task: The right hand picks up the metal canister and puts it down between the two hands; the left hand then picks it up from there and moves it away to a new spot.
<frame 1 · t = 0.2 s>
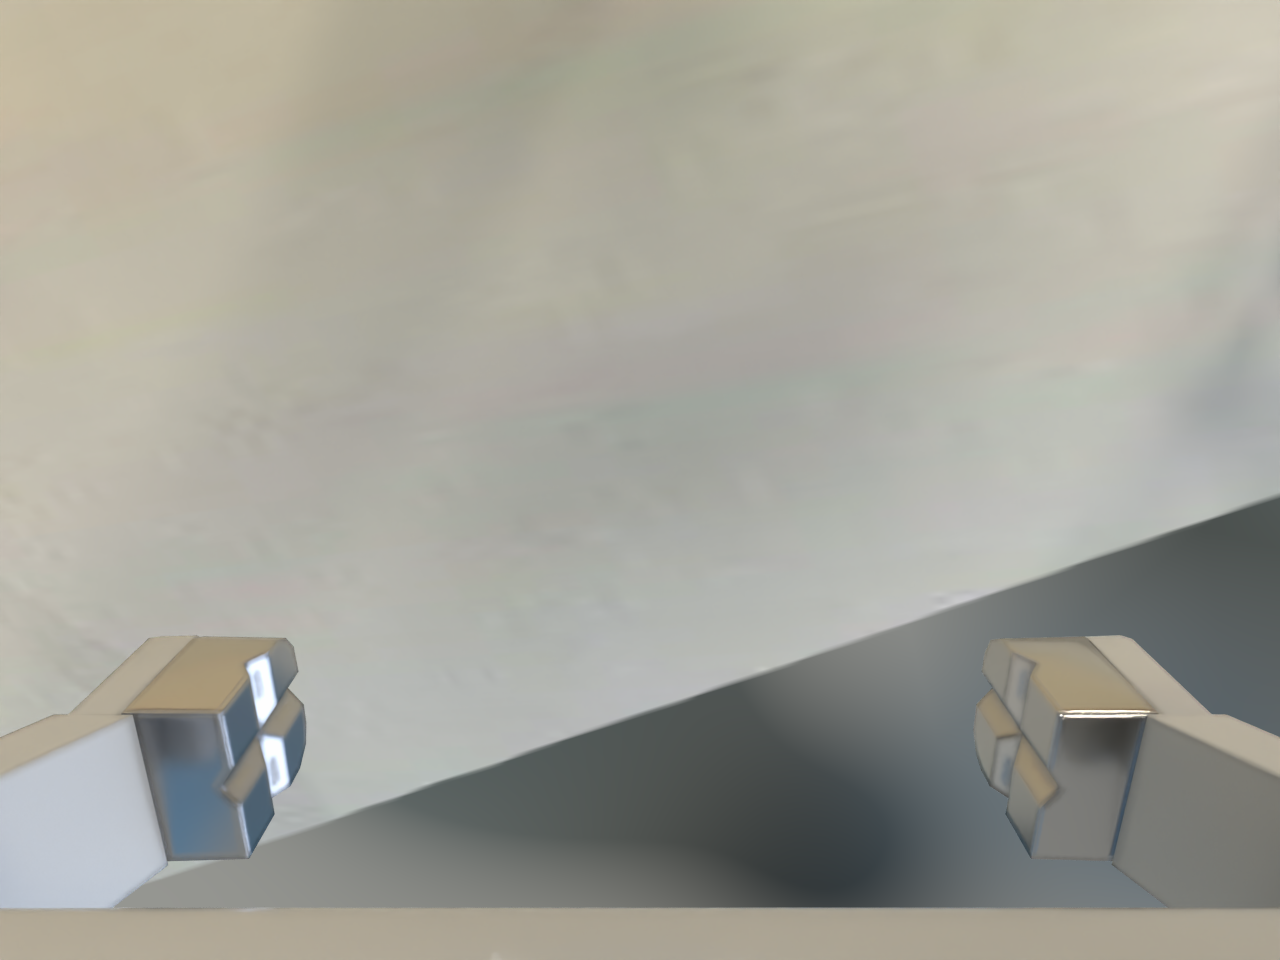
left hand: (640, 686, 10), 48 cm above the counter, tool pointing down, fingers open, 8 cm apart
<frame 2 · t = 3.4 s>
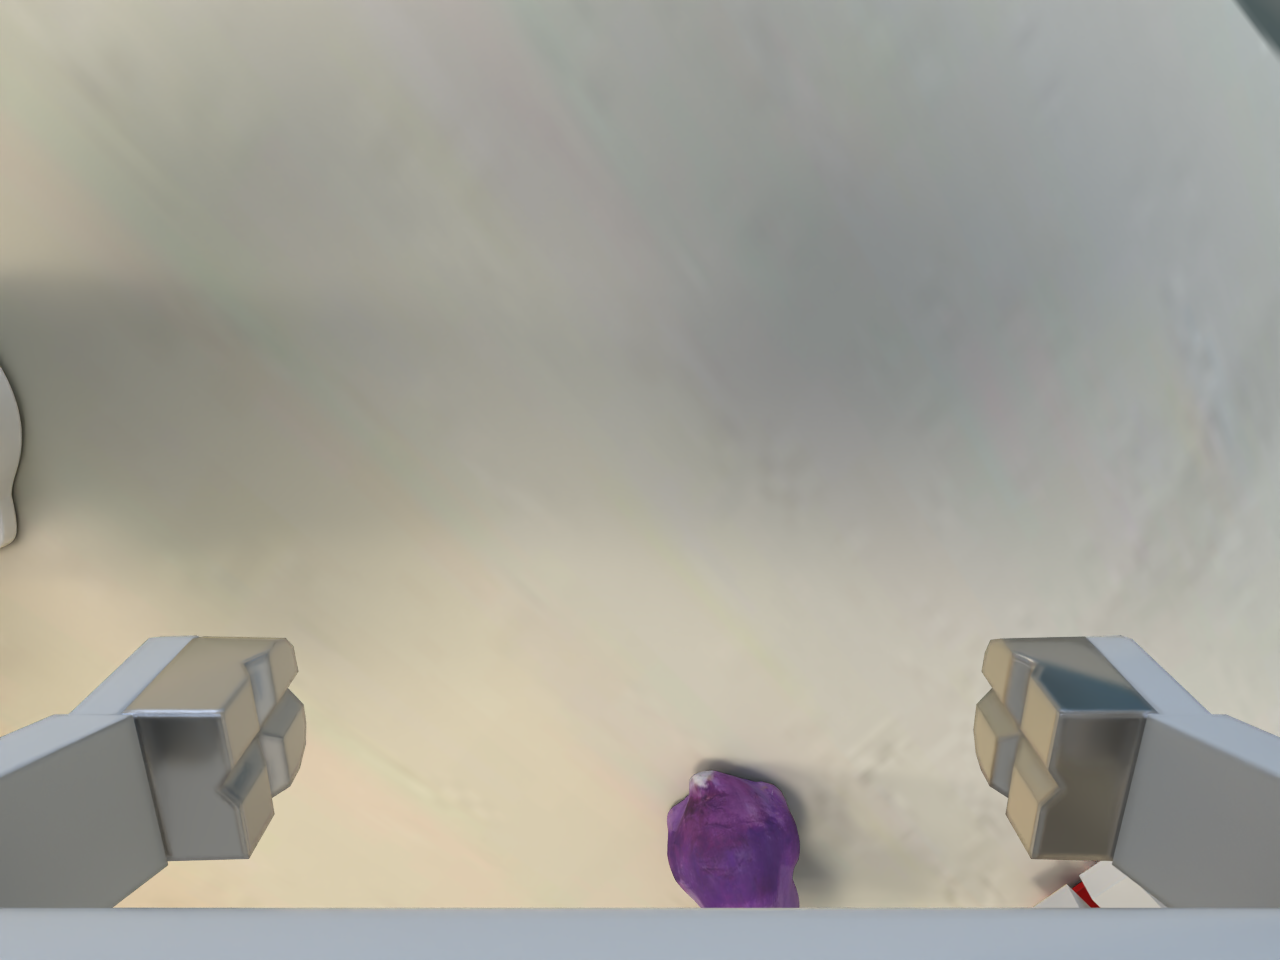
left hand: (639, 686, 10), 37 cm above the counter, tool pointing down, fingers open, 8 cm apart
figurine: (740, 823, 57), on the counter
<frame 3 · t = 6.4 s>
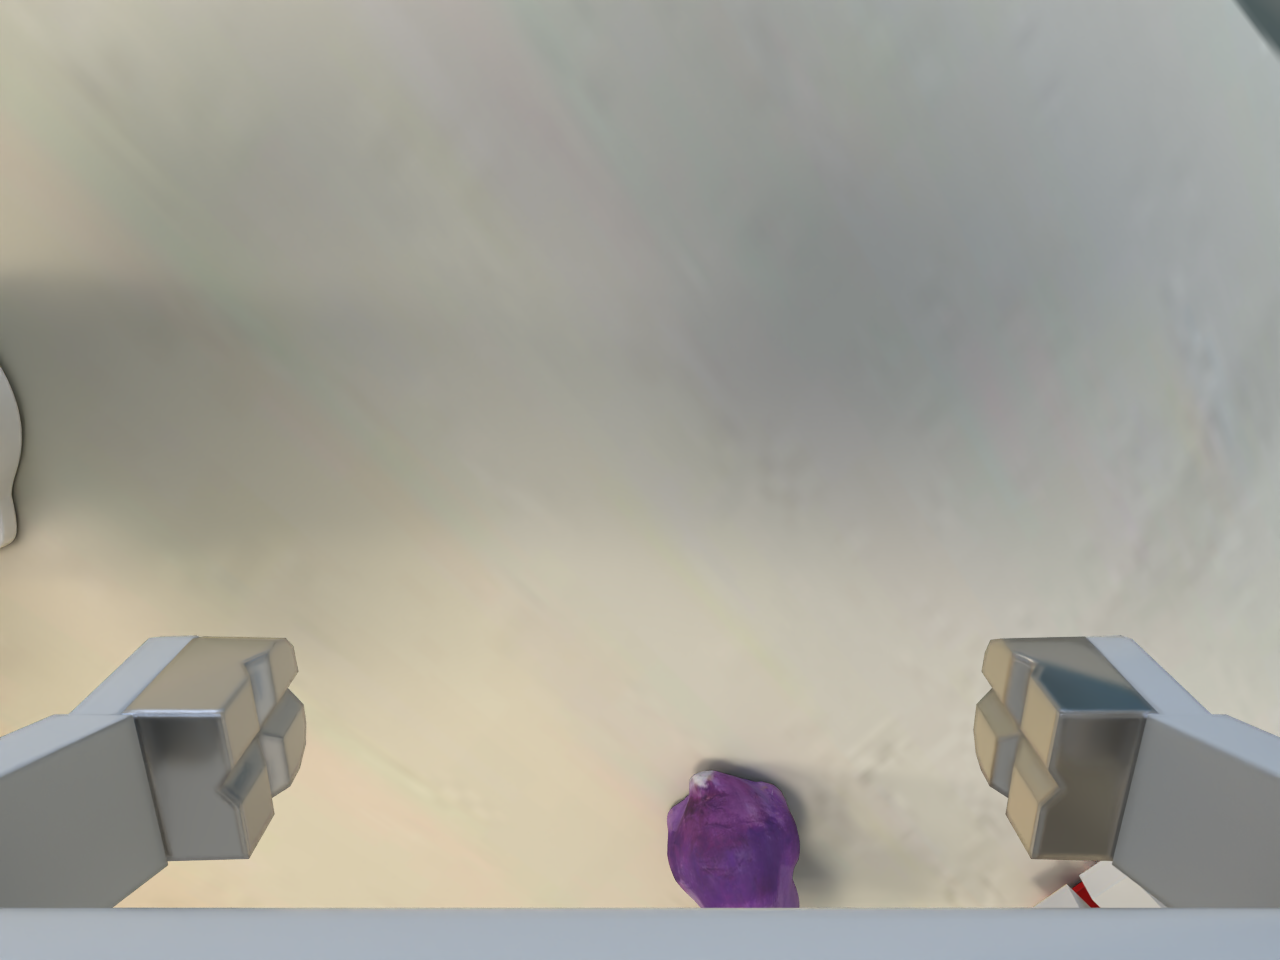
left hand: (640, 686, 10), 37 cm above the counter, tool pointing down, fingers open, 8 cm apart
figurine: (740, 823, 57), on the counter
when the right hand's fingers open (2 cm above the counter, at t = 9.7 s): canister stays where it is, on the counter.
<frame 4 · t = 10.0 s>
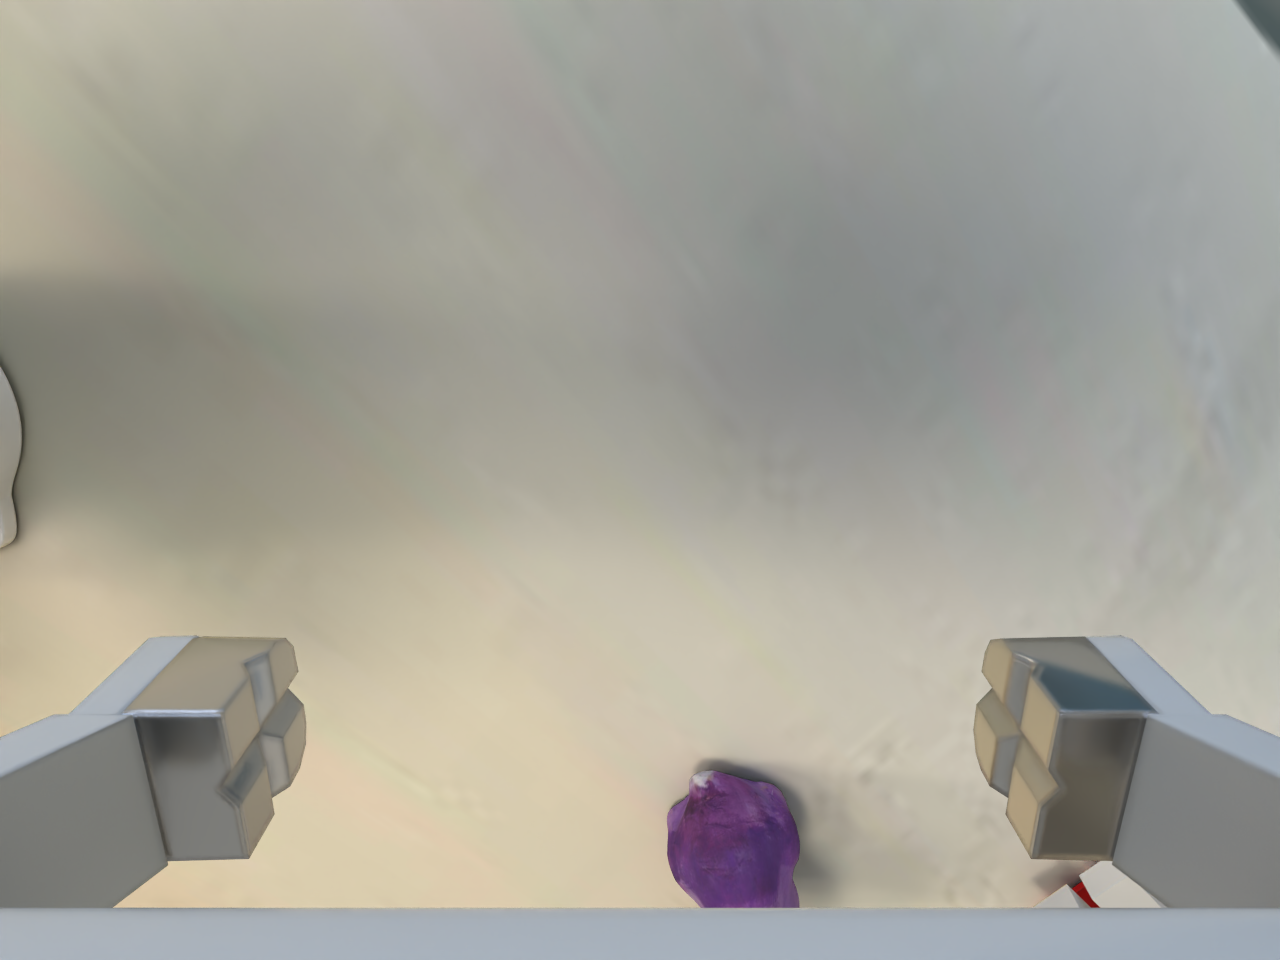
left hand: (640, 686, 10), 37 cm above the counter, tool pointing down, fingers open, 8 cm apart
figurine: (740, 823, 57), on the counter
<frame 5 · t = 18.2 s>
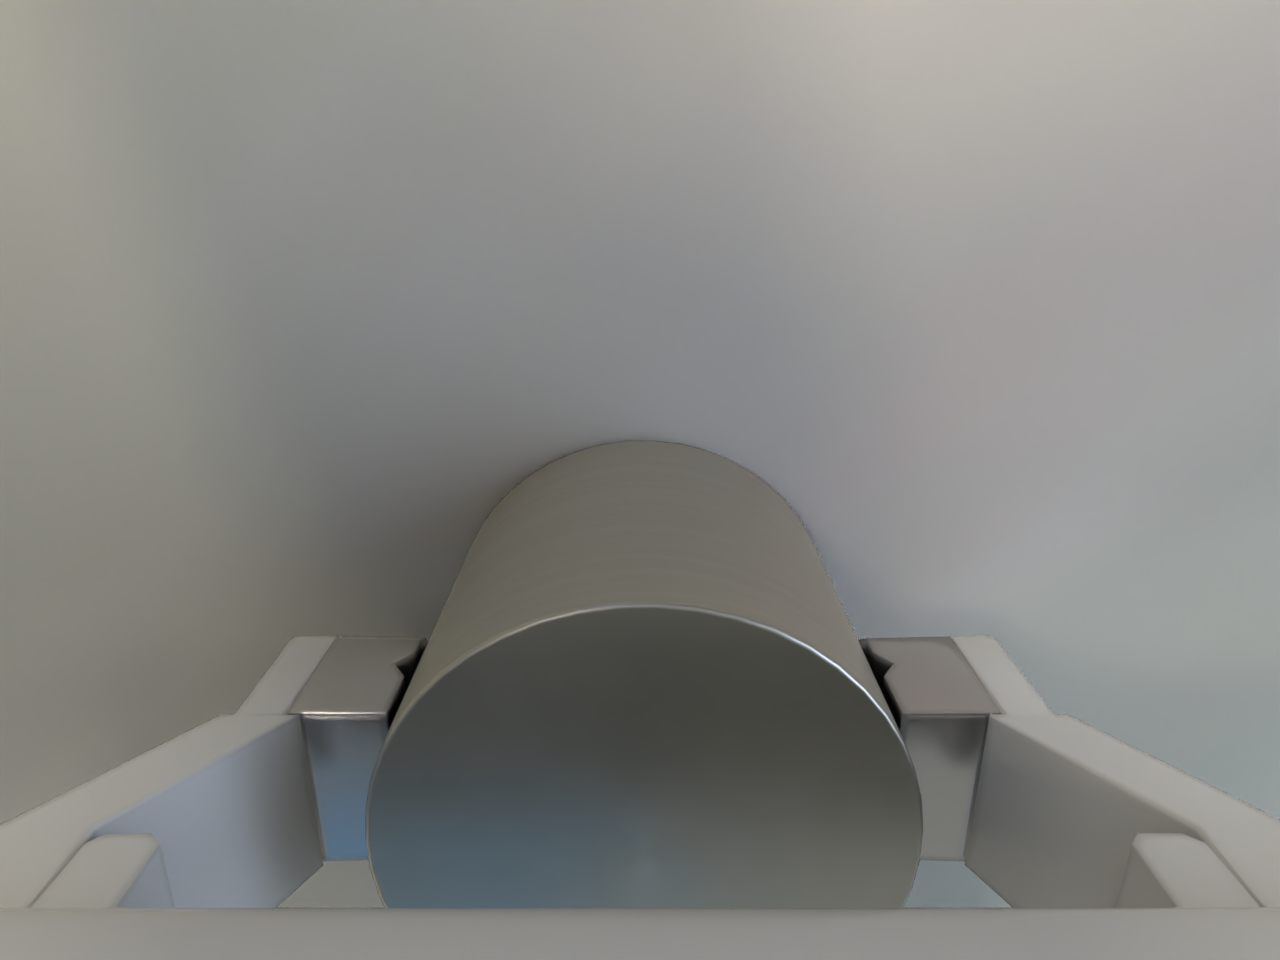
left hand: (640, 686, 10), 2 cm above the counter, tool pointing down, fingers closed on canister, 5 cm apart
canister: (642, 613, 12), on the counter, touching left hand
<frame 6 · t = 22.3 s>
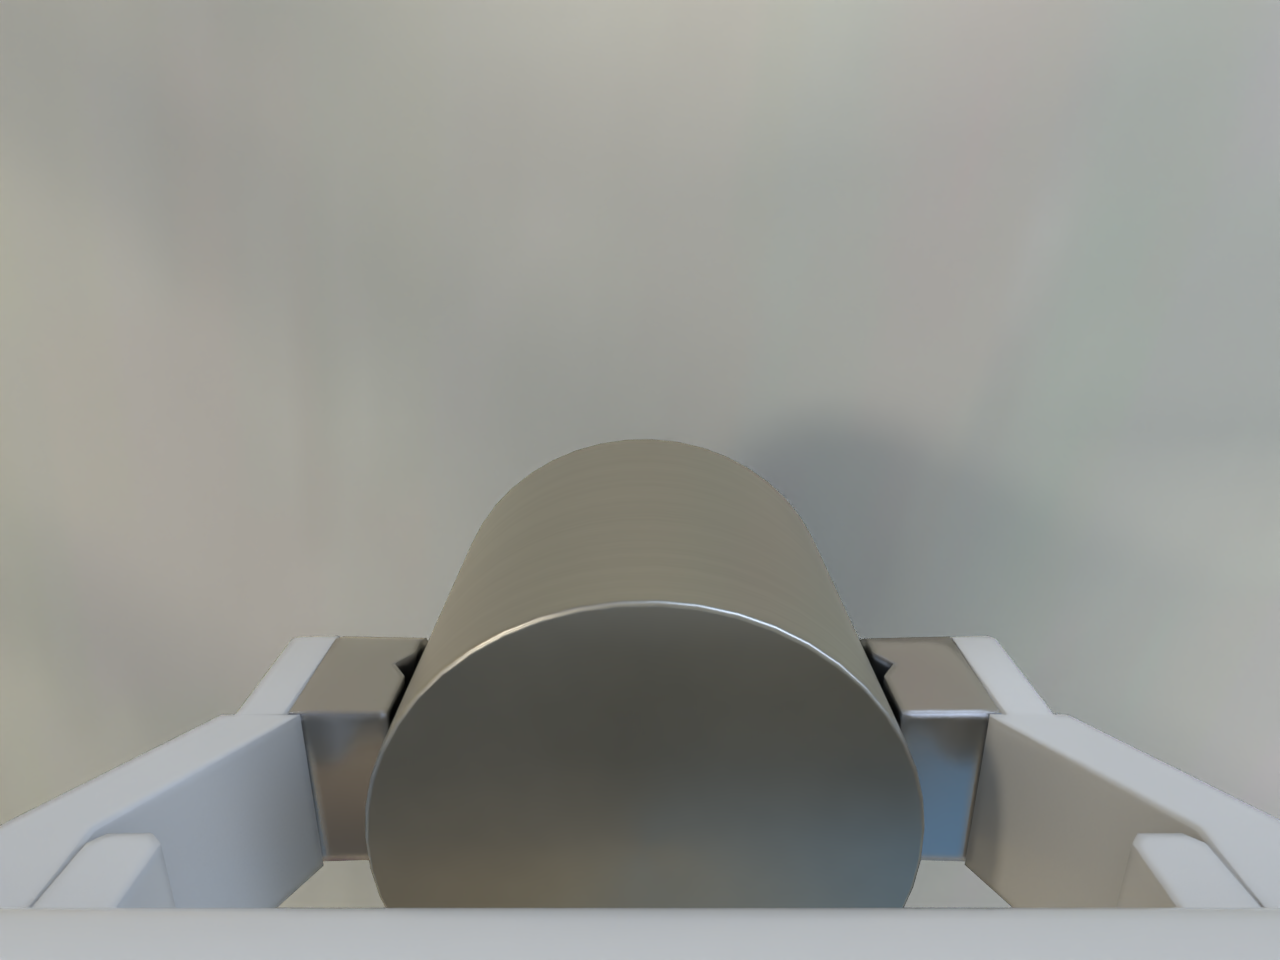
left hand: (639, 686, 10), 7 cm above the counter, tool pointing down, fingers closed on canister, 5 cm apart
canister: (643, 612, 12), point 6 cm above the counter, touching left hand
when the left hand's fingers open (3 cm above the counter, at t = 26.6 s): canister stays where it is, on the counter.
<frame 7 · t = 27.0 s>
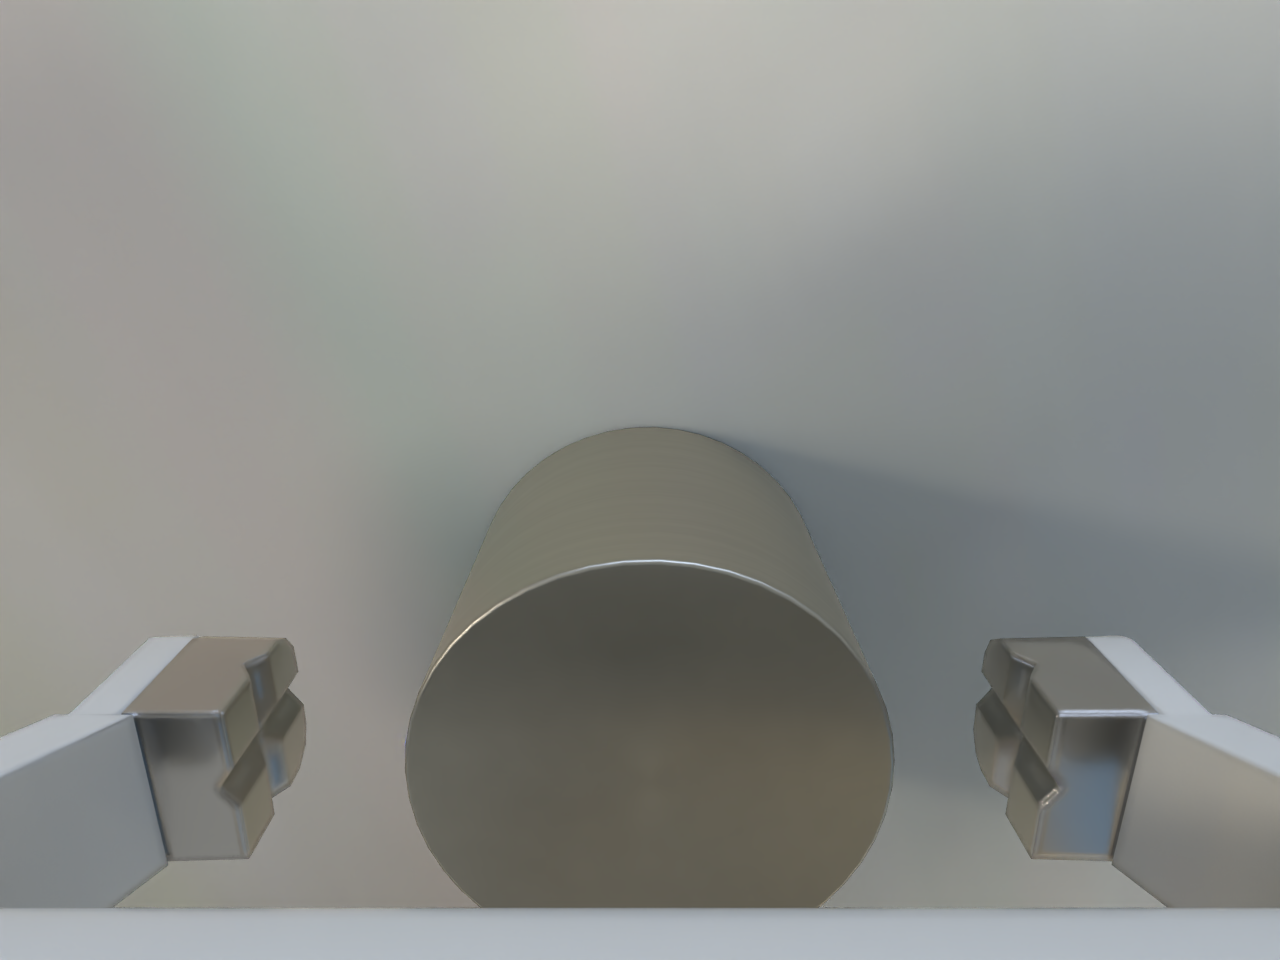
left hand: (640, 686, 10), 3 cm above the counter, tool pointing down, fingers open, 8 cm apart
canister: (647, 586, 13), on the counter
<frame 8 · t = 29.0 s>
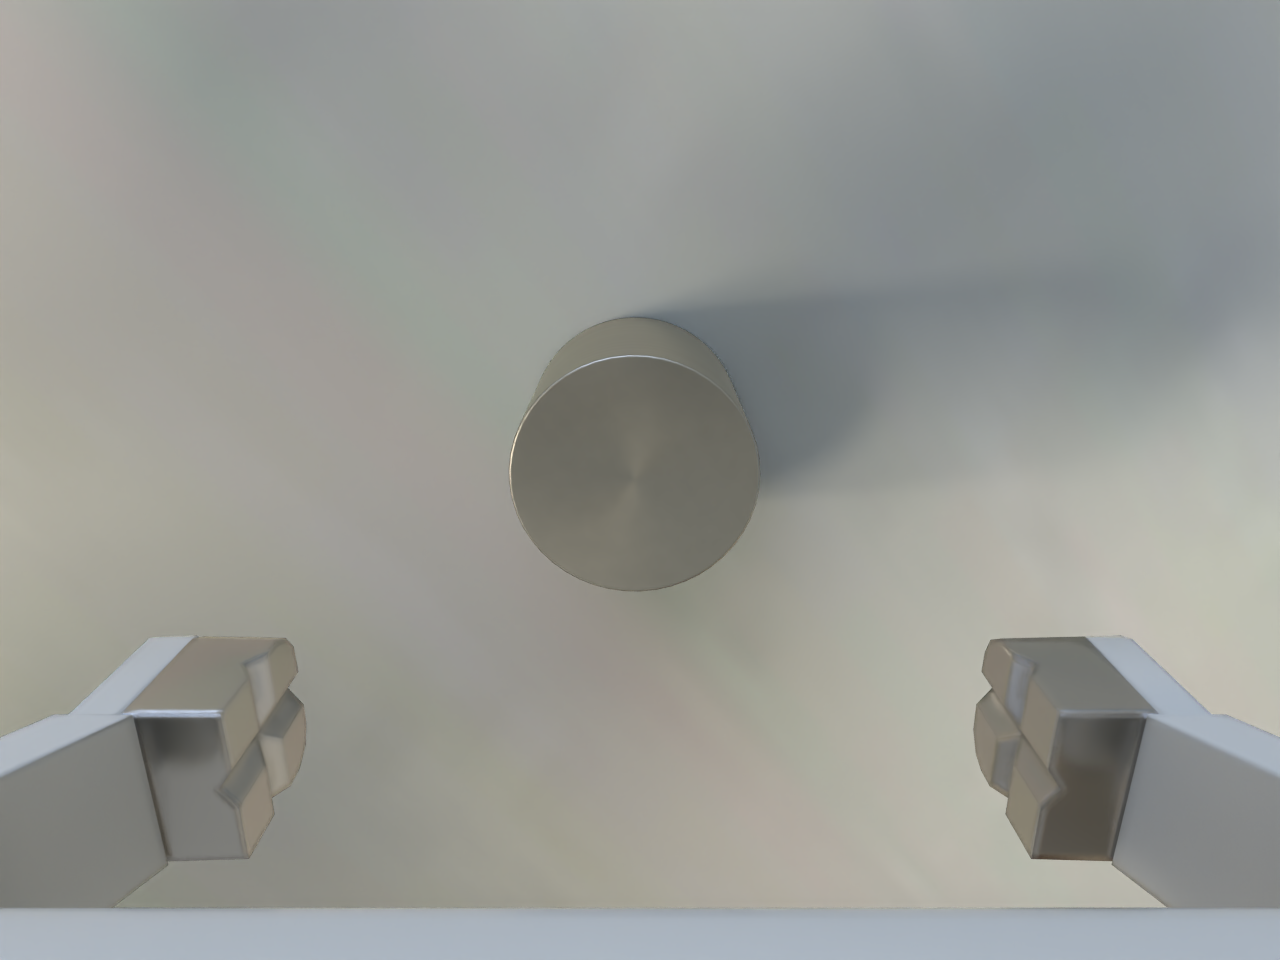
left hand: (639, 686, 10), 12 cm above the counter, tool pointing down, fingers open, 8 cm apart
canister: (635, 419, 21), on the counter
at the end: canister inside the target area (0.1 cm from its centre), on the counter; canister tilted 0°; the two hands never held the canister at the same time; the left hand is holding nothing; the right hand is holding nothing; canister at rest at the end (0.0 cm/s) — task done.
